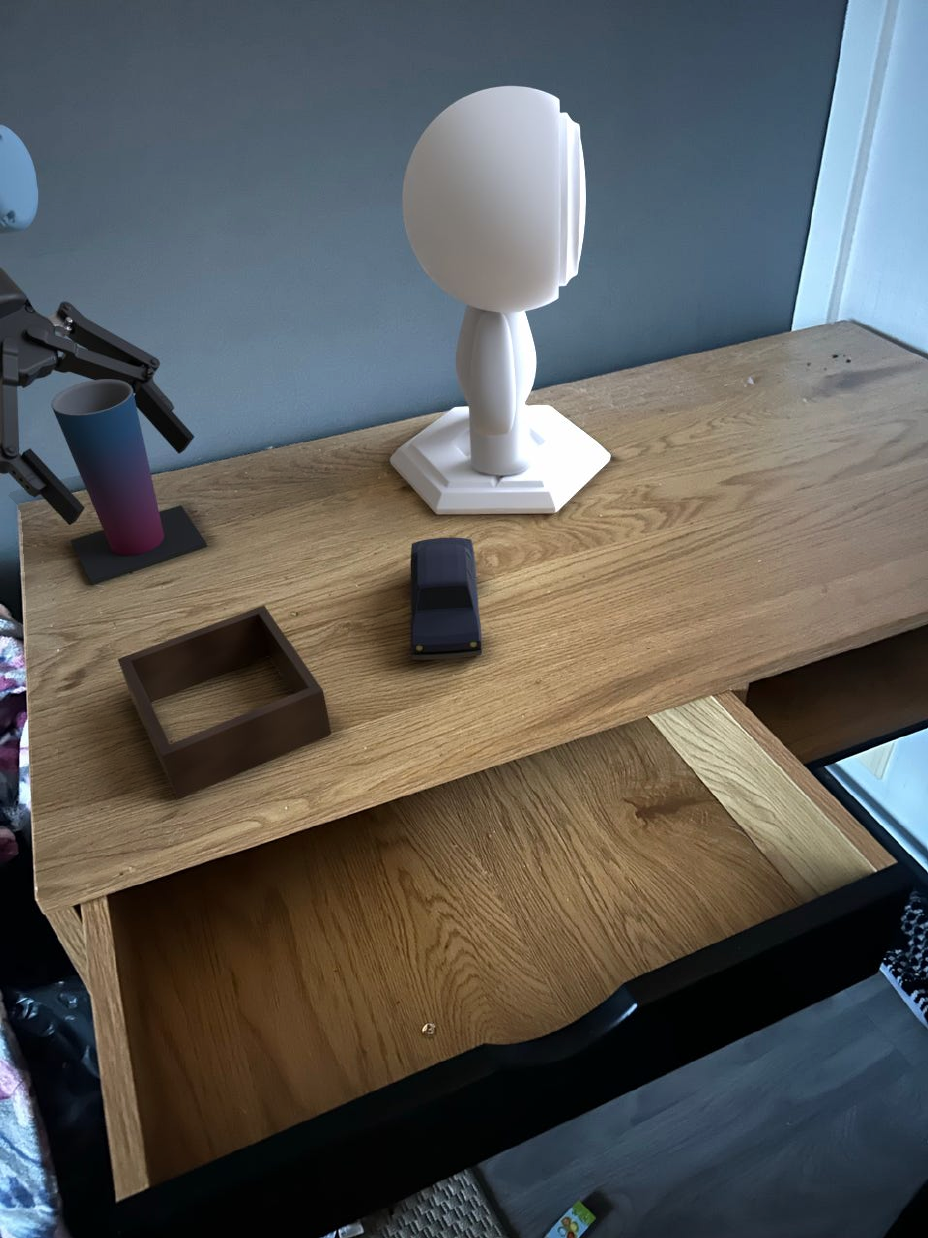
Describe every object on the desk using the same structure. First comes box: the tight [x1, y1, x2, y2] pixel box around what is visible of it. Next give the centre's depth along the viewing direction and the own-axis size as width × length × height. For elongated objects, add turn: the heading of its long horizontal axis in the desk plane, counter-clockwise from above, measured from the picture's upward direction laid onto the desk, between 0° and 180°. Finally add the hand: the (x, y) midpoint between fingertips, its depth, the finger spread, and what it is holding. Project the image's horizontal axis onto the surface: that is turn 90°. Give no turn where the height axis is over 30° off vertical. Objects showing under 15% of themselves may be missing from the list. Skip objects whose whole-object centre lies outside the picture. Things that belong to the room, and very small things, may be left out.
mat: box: [70, 504, 208, 586], centre depth 94 cm, size 11×8×1 cm
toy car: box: [409, 536, 484, 661], centre depth 82 cm, size 6×15×5 cm, turn 2°
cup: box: [50, 379, 164, 556], centre depth 89 cm, size 7×7×15 cm
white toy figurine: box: [389, 85, 611, 515], centre depth 92 cm, size 20×23×35 cm
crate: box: [117, 605, 332, 800], centre depth 73 cm, size 12×12×4 cm
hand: (135, 479), depth 88 cm, fingers open, 13 cm apart
